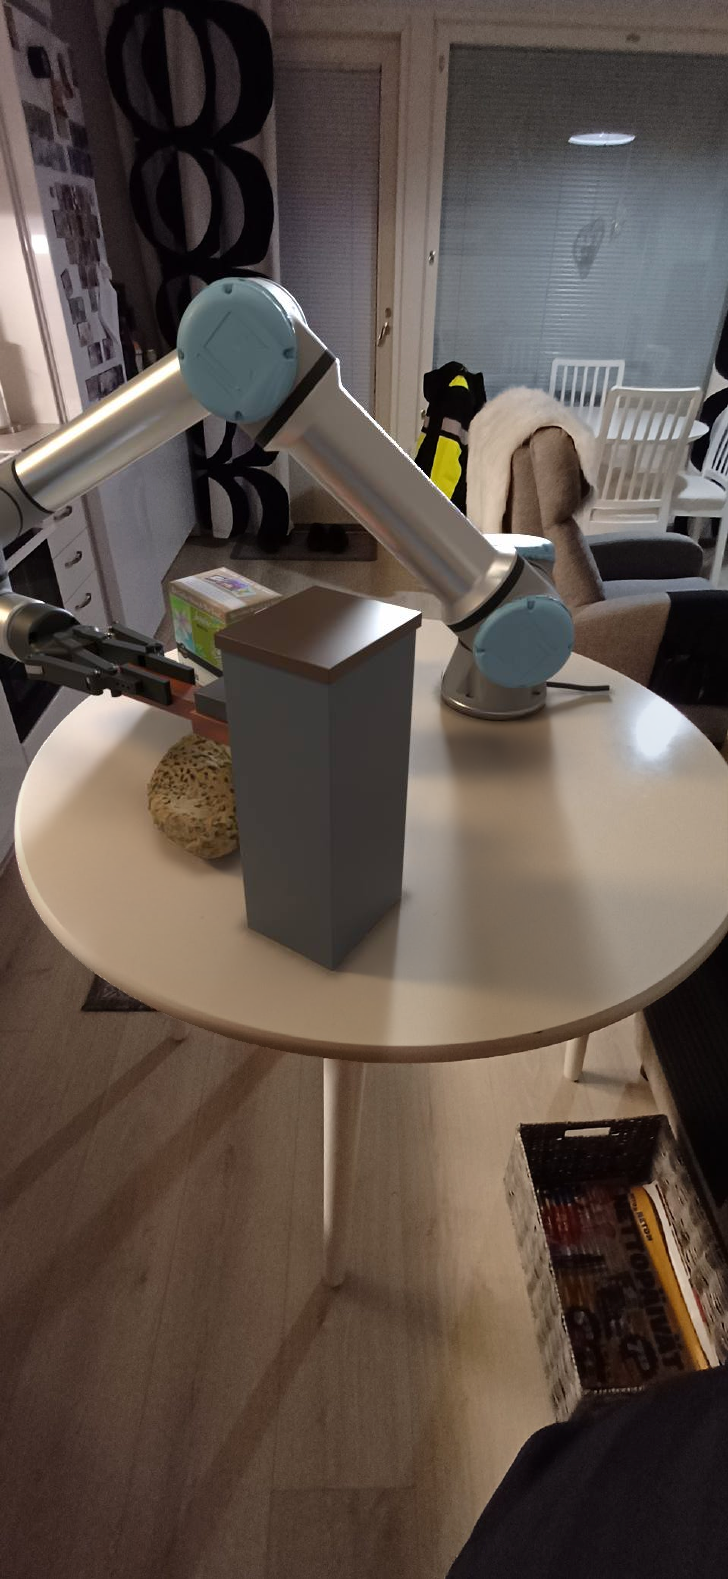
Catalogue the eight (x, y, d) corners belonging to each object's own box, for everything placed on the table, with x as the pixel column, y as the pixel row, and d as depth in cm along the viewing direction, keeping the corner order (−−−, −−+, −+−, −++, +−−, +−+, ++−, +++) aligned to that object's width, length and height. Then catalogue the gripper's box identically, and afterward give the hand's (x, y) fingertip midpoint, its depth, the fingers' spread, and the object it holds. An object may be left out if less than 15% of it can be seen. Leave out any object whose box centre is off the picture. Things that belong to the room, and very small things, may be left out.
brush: (99, 697, 84) (91, 658, 82) (143, 676, 89) (137, 638, 86) (255, 757, 74) (251, 714, 72) (296, 729, 79) (294, 688, 76)
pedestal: (242, 927, 74) (212, 633, 57) (320, 857, 83) (314, 584, 66) (333, 974, 70) (329, 669, 53) (405, 895, 78) (422, 612, 61)
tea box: (177, 673, 119) (164, 579, 110) (232, 655, 124) (224, 564, 116) (233, 709, 110) (224, 609, 101) (290, 688, 115) (286, 592, 107)
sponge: (173, 775, 98) (107, 846, 80) (181, 717, 95) (115, 777, 77) (274, 801, 98) (231, 878, 79) (285, 744, 95) (244, 810, 76)
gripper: (94, 641, 99) (234, 690, 88) (-17, 687, 88) (128, 750, 77) (83, 583, 95) (229, 628, 84) (-35, 624, 84) (115, 682, 73)
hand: (180, 687), depth 81 cm, fingers closed on brush, 3 cm apart
